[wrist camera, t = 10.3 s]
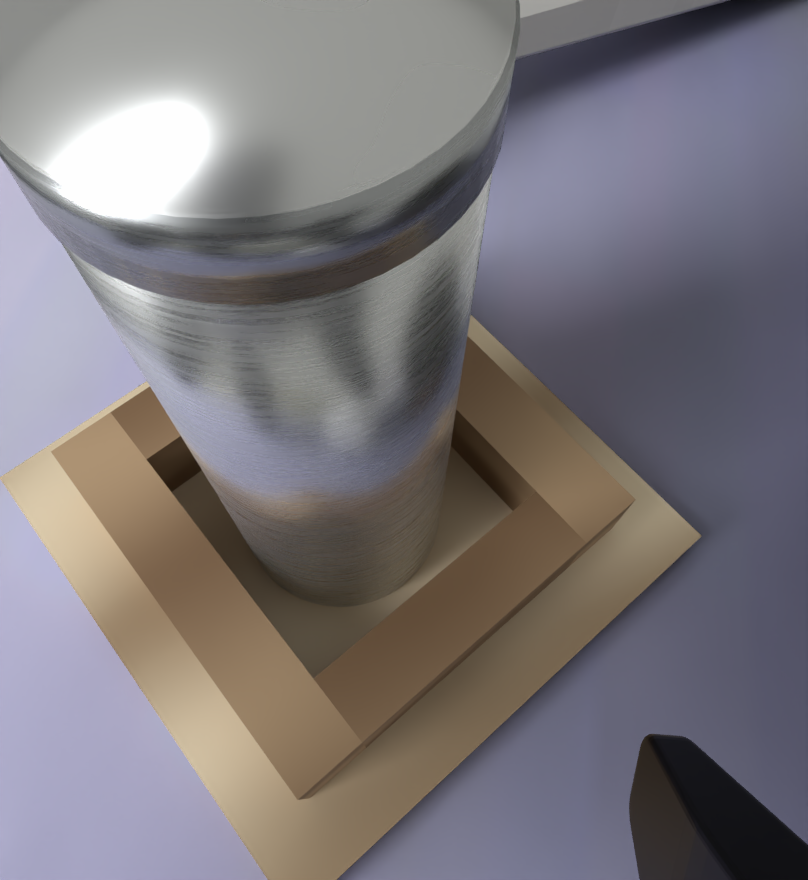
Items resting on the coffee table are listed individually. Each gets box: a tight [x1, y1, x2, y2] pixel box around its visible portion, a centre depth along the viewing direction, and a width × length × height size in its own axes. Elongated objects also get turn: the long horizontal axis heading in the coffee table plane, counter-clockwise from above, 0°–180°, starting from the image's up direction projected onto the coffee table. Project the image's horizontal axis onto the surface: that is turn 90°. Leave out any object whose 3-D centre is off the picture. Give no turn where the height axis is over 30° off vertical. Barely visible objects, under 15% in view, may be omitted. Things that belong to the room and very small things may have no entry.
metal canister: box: [0, 0, 520, 607], centre depth 12 cm, size 5×5×13 cm
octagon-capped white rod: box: [515, 0, 730, 60], centre depth 24 cm, size 5×7×25 cm
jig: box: [0, 315, 701, 880], centre depth 18 cm, size 12×12×3 cm
